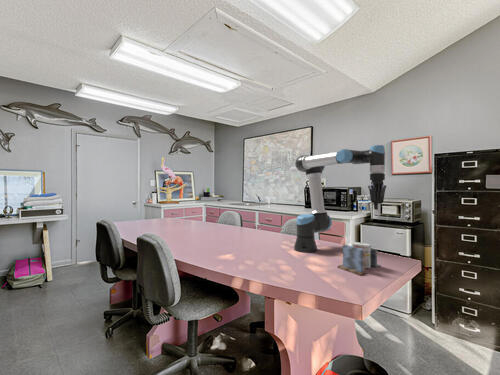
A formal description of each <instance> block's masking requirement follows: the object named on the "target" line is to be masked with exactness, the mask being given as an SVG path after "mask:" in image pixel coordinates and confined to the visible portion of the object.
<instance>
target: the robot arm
mask: <svg viewBox="0 0 500 375" xmlns="http://www.w3.org/2000/svg"><path fill="white" fill-rule="evenodd" d="M385 158H386V151H385V146H384V145H383V144H375V145H370V147H369V149H367V150H366V149H365V150H355V149H347V148H343V149H340V150H338V151H332V152H326V153H321V154H315V155H314V154H313V155H309V154H305V155H300V156H298V157H297V158H296V159H295V163H294V164H295V168H296V169H297V170H298V171H299V172H301V173H305V176H306V177H307V178H308V185H309V186H308V187H309V196H310V203H311V204H310V206H311V212H310V213H303V214H299V215H298V216H296V239H295V242H294V245H293V249H294V251H297V252H301V253H314V252H317V251H318V246H317V243H316V240H315V234H316V233H324V232H327V231H329V230H330V228H331V227H332V225H333V224H332V222H333V221H332V218H331V217H330V215H328V211H326V209H325V203H324V194H323V185H322V178H321V177H322V175H323V172H324V170H325V168H326V166H333V165H334V166H335V165H341V164H342V165H343V164H352V165H363V164H369V173H370V174H369V180H370V181H371V183H370V185H368V186H367V188H368V190H369V191H368V192H369V197H370V203H372V204H373V210H374V211H373V212H374V214H373V215H374V216H381V208H382V207H381V206H382V205H381V204H384V200H385V194H386V189H387V185H385V184H384V181H385V180H386V174H385V171H386V170H385V168H386V165H385V164H386V162H385V161H386V160H385Z"/></svg>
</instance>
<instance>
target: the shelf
mask: <svg viewBox="0 0 500 375" xmlns="http://www.w3.org/2000/svg"><path fill="white" fill-rule="evenodd" d="M337 268H338V269H340V270H342V271H346V272H348V273H352V274H355V275H356V276H359V277H360V276H365V275H368V273H367V272H365V270H366V268H365V250H364V249H361V248H357V247H353V246H352V245H349V244H343V245H342V264H340V265H337Z"/></svg>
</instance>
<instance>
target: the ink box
mask: <svg viewBox="0 0 500 375" xmlns="http://www.w3.org/2000/svg"><path fill="white" fill-rule="evenodd" d="M351 246H353V247H357V248H361V249H364V250H365V269H370V268H371V267H372V266H371V248H372V244H371V243H365V242H358V241H354V242H353V243H352V244H351Z"/></svg>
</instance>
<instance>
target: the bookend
mask: <svg viewBox="0 0 500 375" xmlns="http://www.w3.org/2000/svg"><path fill="white" fill-rule="evenodd" d="M371 267H372V268H379V267H382V266H381V264H378V250H377V248H373V247H371Z"/></svg>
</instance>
